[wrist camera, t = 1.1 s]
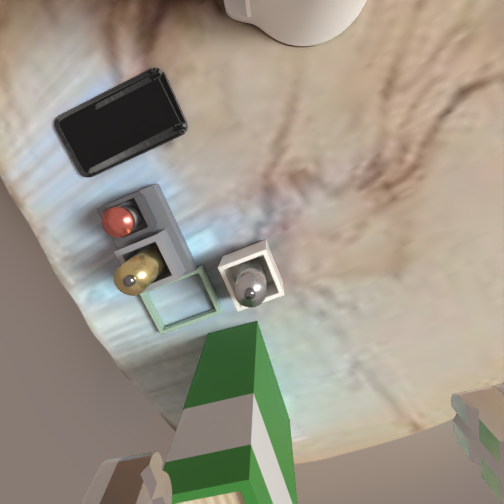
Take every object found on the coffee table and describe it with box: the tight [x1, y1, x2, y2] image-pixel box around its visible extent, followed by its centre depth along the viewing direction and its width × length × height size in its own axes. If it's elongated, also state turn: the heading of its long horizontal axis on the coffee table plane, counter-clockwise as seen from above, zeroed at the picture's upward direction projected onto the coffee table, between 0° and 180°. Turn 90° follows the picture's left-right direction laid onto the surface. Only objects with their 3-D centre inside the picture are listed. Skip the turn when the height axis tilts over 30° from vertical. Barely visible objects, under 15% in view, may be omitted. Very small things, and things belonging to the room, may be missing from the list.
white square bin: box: [218, 240, 284, 311], centre depth 42 cm, size 6×6×5 cm
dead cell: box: [234, 257, 266, 307], centre depth 40 cm, size 4×4×9 cm
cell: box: [114, 245, 167, 296], centre depth 38 cm, size 4×4×9 cm
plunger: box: [102, 205, 141, 237], centre depth 38 cm, size 3×3×3 cm
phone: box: [55, 68, 187, 177], centre depth 40 cm, size 8×1×15 cm
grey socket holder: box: [97, 184, 197, 294], centre depth 41 cm, size 12×8×5 cm, turn 22°
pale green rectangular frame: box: [140, 266, 223, 335], centre depth 45 cm, size 7×9×1 cm
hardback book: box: [163, 321, 297, 504], centre depth 37 cm, size 18×7×24 cm, turn 17°
